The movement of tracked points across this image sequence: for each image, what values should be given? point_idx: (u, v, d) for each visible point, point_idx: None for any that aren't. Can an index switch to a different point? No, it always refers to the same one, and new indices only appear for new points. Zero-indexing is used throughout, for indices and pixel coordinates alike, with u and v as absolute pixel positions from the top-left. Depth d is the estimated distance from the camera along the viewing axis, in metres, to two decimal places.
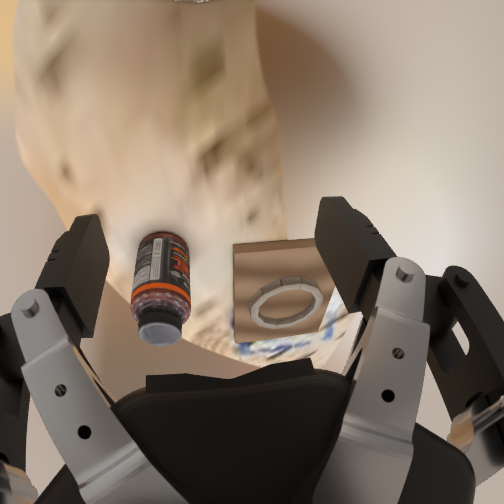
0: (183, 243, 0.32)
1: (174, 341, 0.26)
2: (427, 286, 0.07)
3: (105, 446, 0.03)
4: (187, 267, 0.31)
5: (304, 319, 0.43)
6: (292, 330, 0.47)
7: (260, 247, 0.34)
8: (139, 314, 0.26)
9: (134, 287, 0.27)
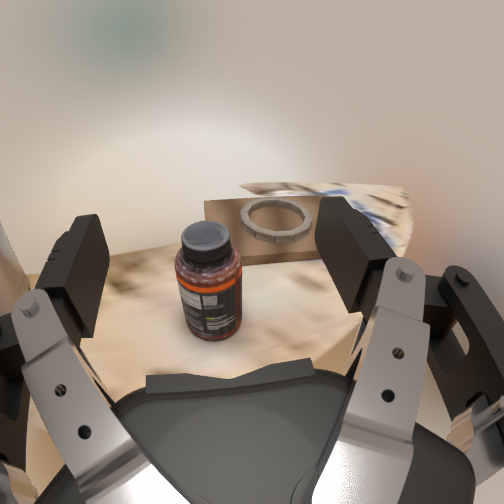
0: None
1: (217, 224, 0.25)
2: (427, 286, 0.07)
3: (105, 446, 0.03)
4: None
5: (294, 202, 0.45)
6: None
7: None
8: (193, 264, 0.24)
9: (189, 293, 0.25)
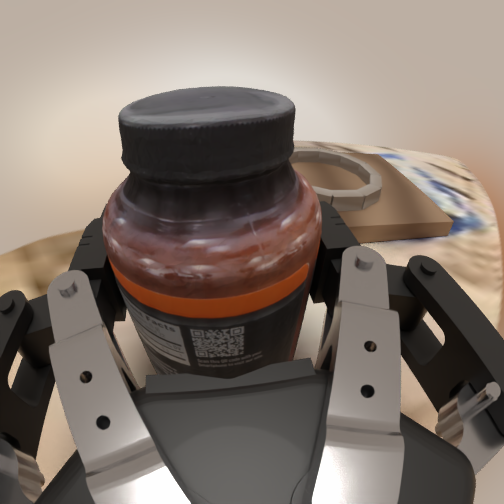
0: None
1: (247, 88, 0.07)
2: (390, 276, 0.08)
3: (122, 439, 0.03)
4: None
5: (345, 155, 0.27)
6: (386, 171, 0.28)
7: None
8: (154, 202, 0.06)
9: (144, 316, 0.07)
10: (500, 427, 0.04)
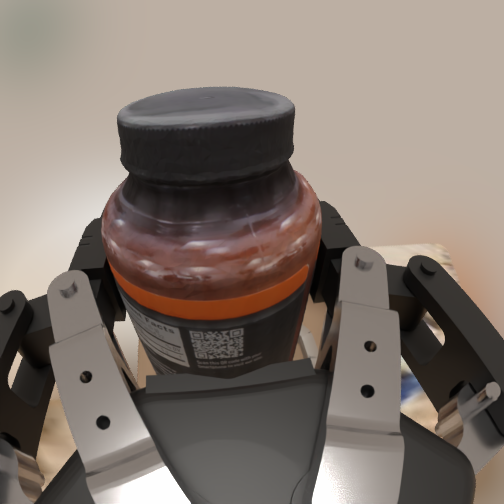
0: None
1: (246, 88, 0.07)
2: (390, 276, 0.08)
3: (121, 439, 0.03)
4: None
5: None
6: None
7: None
8: (153, 204, 0.06)
9: (143, 317, 0.07)
10: (500, 427, 0.04)
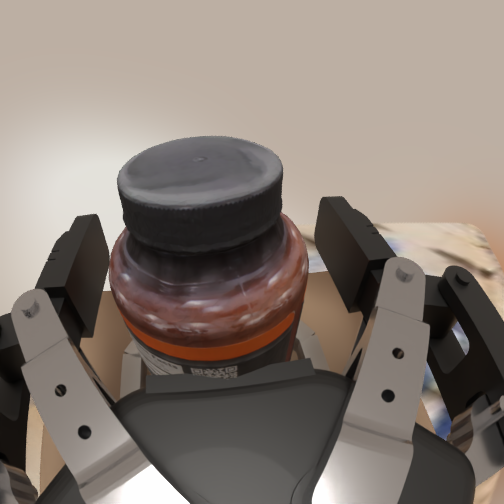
0: None
1: (239, 140, 0.08)
2: (427, 286, 0.07)
3: (105, 445, 0.03)
4: None
5: None
6: (357, 323, 0.17)
7: None
8: (155, 266, 0.06)
9: (150, 354, 0.08)
10: None
